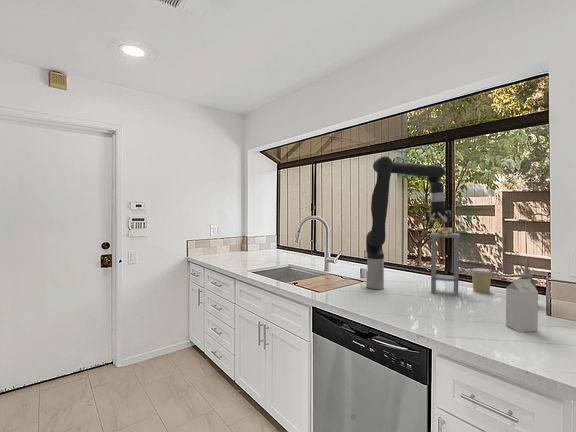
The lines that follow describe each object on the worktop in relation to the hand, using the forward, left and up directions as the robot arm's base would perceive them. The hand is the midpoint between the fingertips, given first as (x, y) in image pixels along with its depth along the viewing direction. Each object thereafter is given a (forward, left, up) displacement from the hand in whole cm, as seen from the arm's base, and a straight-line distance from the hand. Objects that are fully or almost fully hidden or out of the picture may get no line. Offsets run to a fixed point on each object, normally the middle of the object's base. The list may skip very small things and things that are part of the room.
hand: (439, 228), depth 188 cm
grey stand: (+3, -13, -34) cm, 36 cm away
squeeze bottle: (+38, -20, -34) cm, 55 cm away
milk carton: (+30, -58, -34) cm, 73 cm away
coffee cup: (+21, -2, -34) cm, 40 cm away
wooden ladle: (+3, -17, -2) cm, 17 cm away
